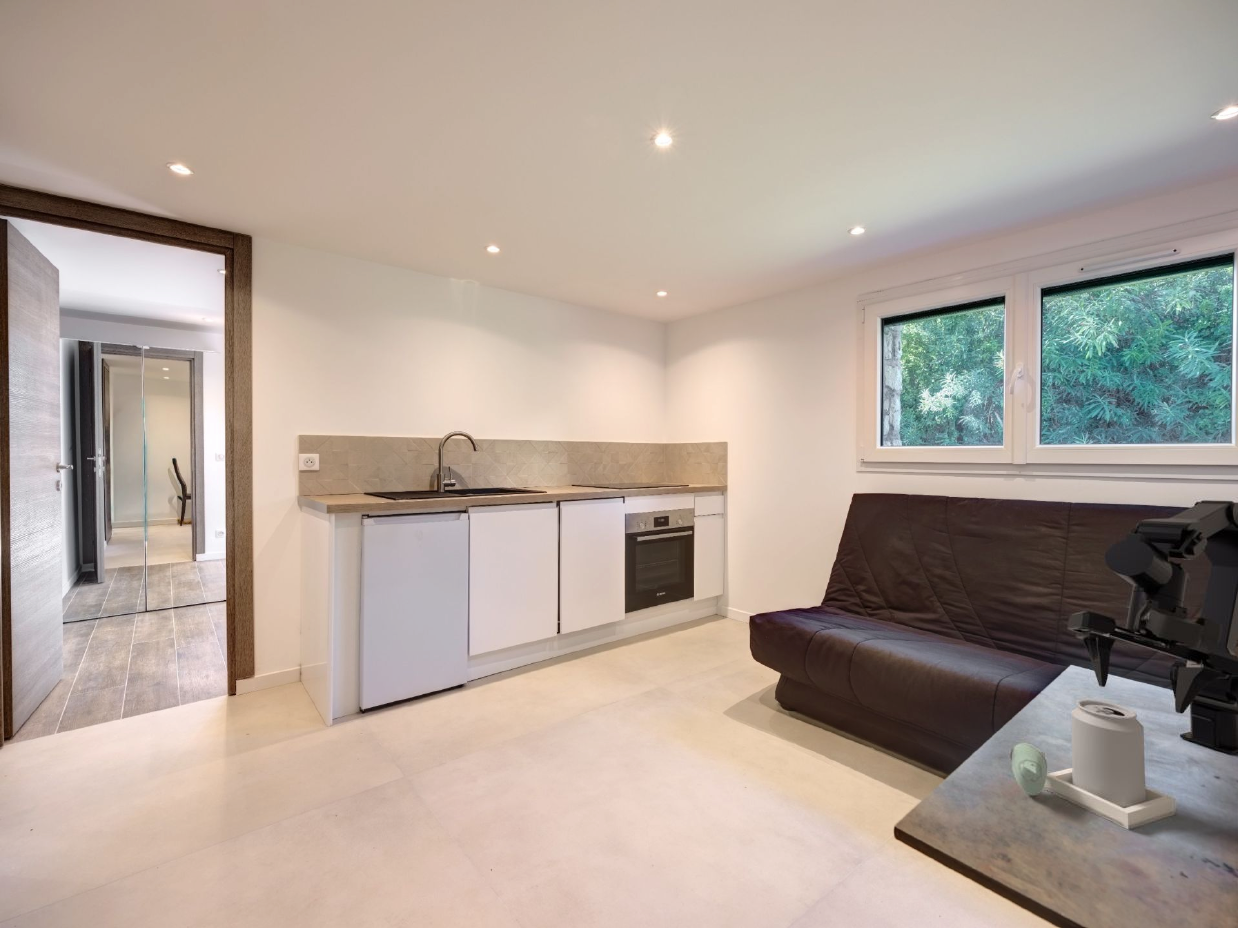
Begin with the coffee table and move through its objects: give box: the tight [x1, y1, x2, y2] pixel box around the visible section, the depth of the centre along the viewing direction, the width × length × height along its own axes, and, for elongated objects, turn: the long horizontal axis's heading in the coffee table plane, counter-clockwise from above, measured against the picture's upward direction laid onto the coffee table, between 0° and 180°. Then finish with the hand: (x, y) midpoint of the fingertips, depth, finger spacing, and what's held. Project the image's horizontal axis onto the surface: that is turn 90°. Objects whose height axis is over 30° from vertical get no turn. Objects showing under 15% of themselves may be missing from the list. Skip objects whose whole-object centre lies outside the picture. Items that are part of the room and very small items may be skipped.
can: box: [1070, 699, 1146, 808], centre depth 76 cm, size 8×8×12 cm
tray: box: [1044, 767, 1176, 830], centre depth 76 cm, size 10×10×2 cm
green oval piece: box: [1009, 742, 1048, 797], centre depth 77 cm, size 8×4×7 cm, turn 136°
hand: (1139, 699), depth 83 cm, fingers open, 9 cm apart
